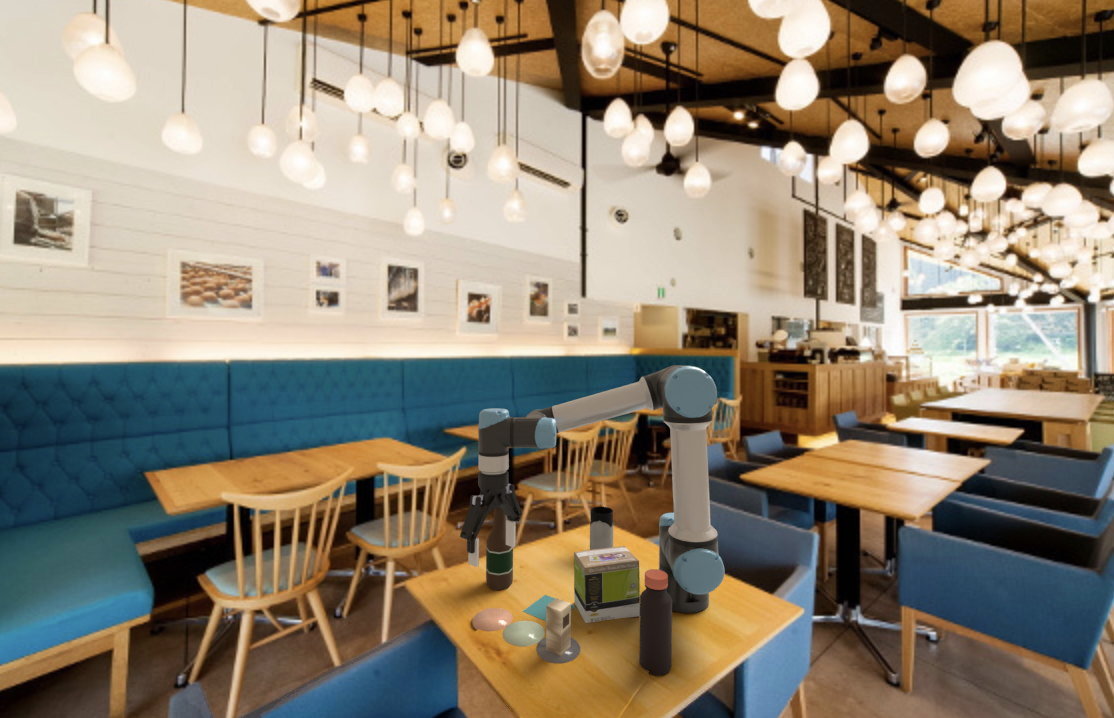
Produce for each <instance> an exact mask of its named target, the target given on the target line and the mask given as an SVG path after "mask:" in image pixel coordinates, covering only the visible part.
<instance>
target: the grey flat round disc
mask: <svg viewBox="0 0 1114 718" xmlns="http://www.w3.org/2000/svg"><path fill="white" fill-rule="evenodd" d="M535 651H536V654H537V655H538V657H539V658H540V659H542V660H543V661H545V662H548V663H550V664H567V663H569V662H572V661H574V660H576V659H577V658H578V656H579V655H580V653H581V646H580V643H579V642H578V641H577V640H575V639H574V638H573V637H571V647H570V648H569V649H568V650H567V651H566V652H565V653H564V654H563V655H562V656H559V655H556V654H554V653H552V652H550V651H548V650H546V636H544V637H543V639H542V640H541V641H540V642H538V643H536V649H535Z"/></svg>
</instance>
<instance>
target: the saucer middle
mask: <svg viewBox="0 0 1114 718" xmlns="http://www.w3.org/2000/svg"><path fill="white" fill-rule="evenodd" d="M545 636H546V630H545V628H544V627H543V626H542V625H541V624H540V623H538V622H535V621H530V620H519V621H518V620H517V621H515V622H511V623H510V625H508V626H507V627H505V628H503V631H502V637H503V639H504V641H505V642H506V643H508V644H510V645H512V646H516V647H530V646H533V645H537V644H538V643H539V642H540V641H541V640H542V639H543V638H545Z"/></svg>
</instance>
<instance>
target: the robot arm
mask: <svg viewBox="0 0 1114 718" xmlns="http://www.w3.org/2000/svg"><path fill="white" fill-rule="evenodd" d="M717 389H718V388H717V386H716V384H715V381H714V379H713V378H712V377H711V375H709V374H708V372H706V371H705V370H703V369H701V368H700V367H697V366H693V365H683V364H682V365H681V364H676V365H671V366H668V367H666V368H663V369H660V370H658V371H655V372H652V373H650V374H647V375H644V376H641V377H640V379H639V381H637V382H634V383H633V382H632V383H629V384H626V385H622V386H620V387H615V388H612V389H608V390H605V391H601V392H598V393H595V394H592V395H588V396H583V397H581V398H577V399H573V400H570V401H567V402H564V403H563V402H562V403H560V404H556V405H552V406H550V407H546V408H542V409H541V408H537V409H534V410H532V411H530V412H529V413H528V414H527V415H526V416H525V417H514V416H510V411H509V410H508V409H506V408H499V407H498V408H495V407H493V408H491V407H490V408H485V409H482V410H481V411H480V412H479V415H478V416H479V417H478V428H477V430H478V431H477V432H478V434H477V435H478V470H479V472H478V475H477V476H478V477H477V478H478V479H477V484H478V488H479V489H480V493H479V495H474V494H472V495H470V497H469V506H468V510H467V512H466V516H465V519H464V522H463V524H462V528H461V531H460V533H459V537H460V538H461V539H464V540H466V551H467V553H468V557H467V558H468V560H467V561H468V562H467V564H468V565H470V566H473V567H474V568H475V567H476V568H477V567H479V565H480V539H479V537H478V535H479V533H480V531H481V530H482V527H483V525H484V522H485V520H486V519H487V516H488V515H490V513H491V512H492V511H493V510H494V509H495V508H496V507H500V508H501V509H502V510H503V512H504V513H505V514H506V518H507V519H506V545H508V546H511V547H513V548H515V547H516V536H517V535H516V533H517V522H520V520H521V517H522V515H523V511H522V508H521V506H520V502H519V500H518V498H517V495H516V490H515V488H516V487H515V485H514V484H513V483H512V484H511V483H509V471H508V470H509V467H510V465H509V464H510V463H509V462H510V459H509V453H510V452H509V448H517V449H518V448H519V449H522V448H523V449H526V448H527V449H540V450H543V449H552V448H555V446H556V445H557V434H559V433H562V432H566V431H569V430H573V429H577V428H580V427H583V426H584V427H585V426H587V425H591V424H595V423H598V422H602V421H605V420H606V421H607V420H609V419H612V418H617V417H620V416H624V415H627V414H631V413H634V412H637V411H642V410H645V409H648V410H650V411H651V412H652V411H655V410H659V409H660V410H661V409H662V415H663V423H665V424H666V425H667V426H668V428H669V429H670V430H669V431H670V453H671V455H670V456H671V457H670V458H671V476H672V477H671V478H672V481H671V482H672V498H673V499H672V500H673V512H666V513H663V514H661V516H660V518H659V524H658V527H659V540H658V541H659V547H658V549H659V551H658V552H659V553H658V554H659V555H658V556H659V557H658V559H659V560H658V562H659V563H658V569H657V570H661V571H664V572H665V573H666V574H667V575H668V586H667V587H668V588H667V590H666V591H667V592H668V594H669V595H670V596H671V598H672V612H677V613H684V614H685V613H686V614H690V613H691V614H693V613H699V612H702V611H704V610H705V609H707V607H708V606H709V604H710V593H712V592H713V591H715V590H716V589H717V588H718V587H720V585H721V584H722V582H723V581H724V577H725V573H726V572H725V571H726V570H725V566H724V561H723V559H722V557H721V556H720V555H719V542H718V541H719V540H718V539H719V538H718V537H719V536H718V531H717V529H715V528H714V526H713V525H711V505H710V504H711V503H710V482H709V481H710V480H709V463H708V462H709V460H708V440H707V439H708V438H707V435H708V434H707V428H708V427H709V425H711V424H712V422H713V421H714V420H713V407H714V406H715V404H716V401H717V398H718V390H717Z"/></svg>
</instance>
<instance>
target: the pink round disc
mask: <svg viewBox="0 0 1114 718" xmlns="http://www.w3.org/2000/svg"><path fill="white" fill-rule="evenodd" d="M513 620H514V619H513V614H512V613H511V612H510V611H509V610H508V609H505V608H501V607H489V608H485V609H482V610H480V611H478V612H476V614H475V615H473V617H472V621H471V622H472V627H473V628H474V629H475V630H476V631H477V630H481V631H484V632H496V631H497V632H498V631H501V630H504V629H505V628H506V627H507V626H508V625H510V624H512V623H513Z"/></svg>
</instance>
